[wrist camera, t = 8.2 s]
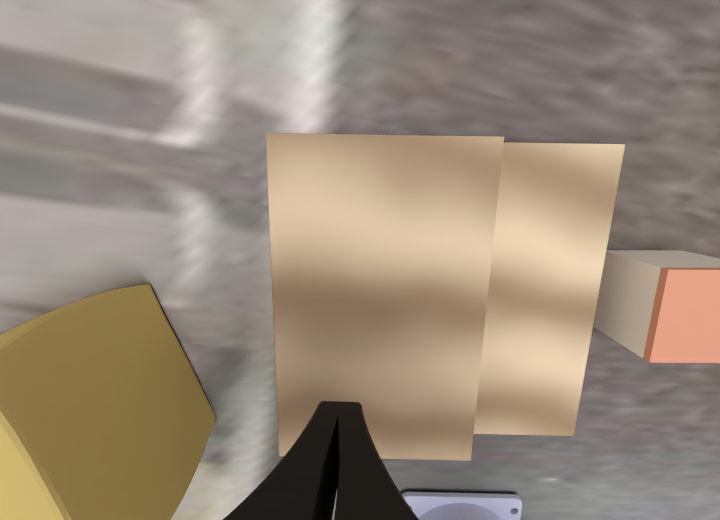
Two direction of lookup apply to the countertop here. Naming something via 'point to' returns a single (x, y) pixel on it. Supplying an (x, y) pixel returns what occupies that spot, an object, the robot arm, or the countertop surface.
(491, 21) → the countertop surface
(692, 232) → the countertop surface
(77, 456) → the cheese
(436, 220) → the step
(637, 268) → the white cube
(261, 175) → the countertop surface
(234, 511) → the robot arm
